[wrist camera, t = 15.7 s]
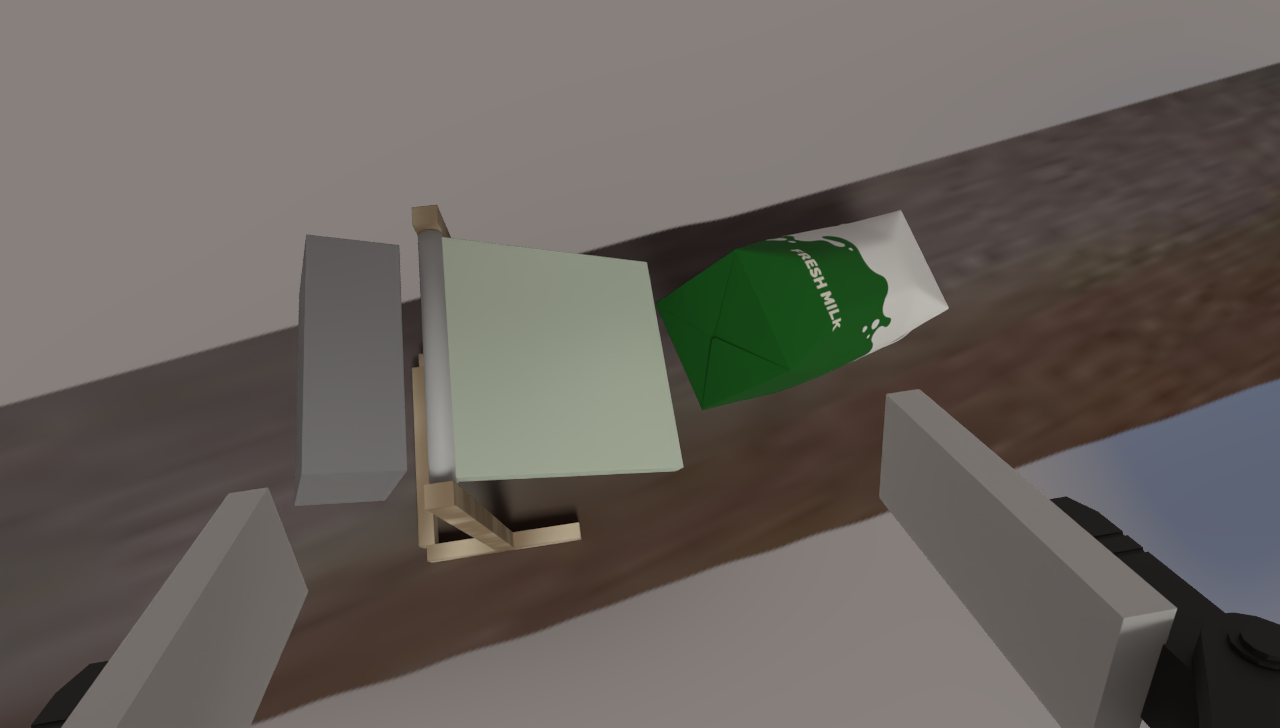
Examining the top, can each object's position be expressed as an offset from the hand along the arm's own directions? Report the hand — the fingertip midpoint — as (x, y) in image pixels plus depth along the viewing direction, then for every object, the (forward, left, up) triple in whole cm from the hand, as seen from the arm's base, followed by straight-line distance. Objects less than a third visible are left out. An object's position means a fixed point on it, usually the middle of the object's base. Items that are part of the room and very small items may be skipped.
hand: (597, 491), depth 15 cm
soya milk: (+8, +11, -19) cm, 23 cm away
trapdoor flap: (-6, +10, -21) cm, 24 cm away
